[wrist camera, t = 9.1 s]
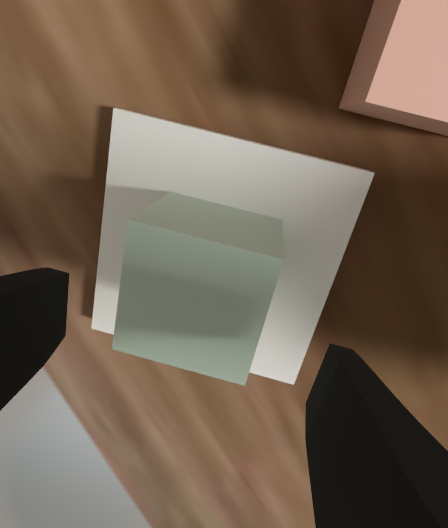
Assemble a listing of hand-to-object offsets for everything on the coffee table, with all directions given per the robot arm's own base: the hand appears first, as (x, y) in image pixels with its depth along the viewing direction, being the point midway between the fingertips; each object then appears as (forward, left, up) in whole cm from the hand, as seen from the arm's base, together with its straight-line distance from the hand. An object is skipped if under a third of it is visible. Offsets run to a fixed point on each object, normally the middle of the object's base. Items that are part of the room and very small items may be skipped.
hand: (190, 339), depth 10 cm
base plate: (+1, +1, -8) cm, 8 cm away
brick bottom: (+1, +1, -7) cm, 7 cm away
